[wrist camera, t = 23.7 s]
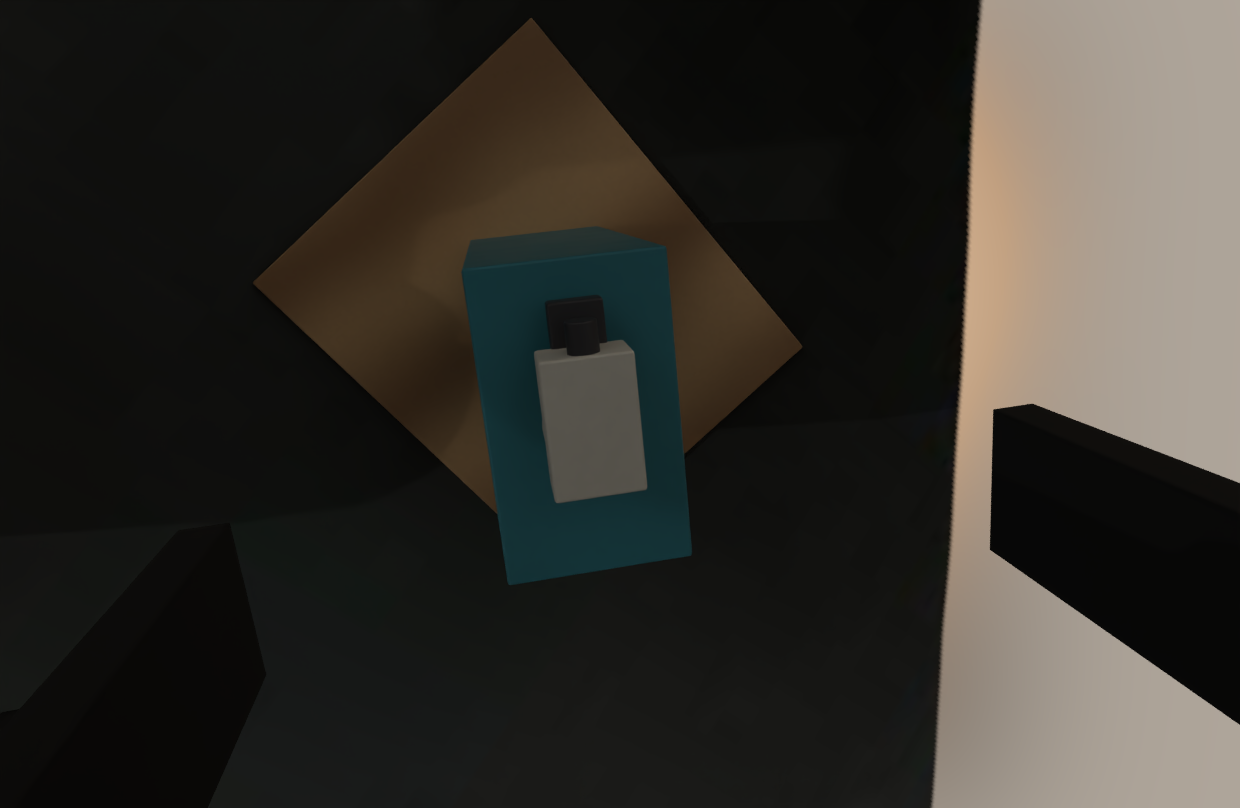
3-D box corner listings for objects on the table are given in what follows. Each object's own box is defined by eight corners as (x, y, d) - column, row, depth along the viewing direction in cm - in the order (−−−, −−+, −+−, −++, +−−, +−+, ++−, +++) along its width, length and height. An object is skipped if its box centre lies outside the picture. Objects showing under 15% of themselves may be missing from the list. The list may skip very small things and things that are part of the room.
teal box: (499, 446, 40) (469, 240, 38) (620, 429, 41) (598, 225, 38) (511, 631, 23) (457, 278, 21) (716, 596, 24) (689, 251, 21)
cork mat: (254, 281, 37) (251, 283, 37) (530, 19, 36) (531, 17, 36) (555, 565, 43) (556, 569, 42) (799, 345, 42) (803, 346, 41)
